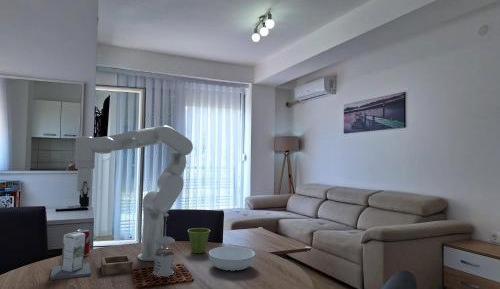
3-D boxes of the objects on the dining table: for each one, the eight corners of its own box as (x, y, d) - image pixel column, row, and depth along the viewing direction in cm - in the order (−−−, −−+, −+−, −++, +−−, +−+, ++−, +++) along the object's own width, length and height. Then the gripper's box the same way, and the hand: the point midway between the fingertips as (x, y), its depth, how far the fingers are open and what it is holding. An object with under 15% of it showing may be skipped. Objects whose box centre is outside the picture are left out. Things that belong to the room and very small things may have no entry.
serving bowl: (198, 266, 149) (199, 251, 150) (232, 258, 165) (232, 244, 165) (230, 279, 135) (231, 262, 136) (264, 268, 151) (264, 253, 151)
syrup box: (72, 266, 140) (74, 231, 141) (83, 268, 138) (85, 232, 139) (60, 270, 135) (63, 234, 135) (72, 272, 133) (74, 235, 133)
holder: (128, 263, 149) (129, 254, 150) (132, 271, 139) (132, 261, 140) (100, 266, 144) (101, 257, 144) (102, 274, 134) (103, 264, 134)
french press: (153, 279, 132) (157, 215, 133) (148, 270, 142) (151, 211, 143) (178, 276, 136) (181, 214, 137) (171, 267, 146) (173, 210, 148)
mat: (89, 265, 145) (89, 263, 145) (90, 275, 133) (90, 273, 133) (52, 268, 139) (52, 266, 139) (49, 280, 126) (49, 277, 126)
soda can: (82, 258, 155) (84, 232, 156) (70, 256, 156) (71, 231, 157) (92, 254, 162) (93, 229, 162) (80, 253, 163) (81, 228, 164)
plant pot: (190, 248, 180) (191, 227, 180) (211, 250, 178) (212, 228, 179) (183, 254, 168) (184, 231, 169) (206, 256, 166) (207, 233, 167)
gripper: (74, 164, 149) (73, 203, 149) (75, 165, 134) (74, 208, 133) (93, 164, 153) (92, 202, 152) (96, 165, 138) (95, 207, 137)
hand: (83, 205), depth 143 cm, fingers open, 9 cm apart
